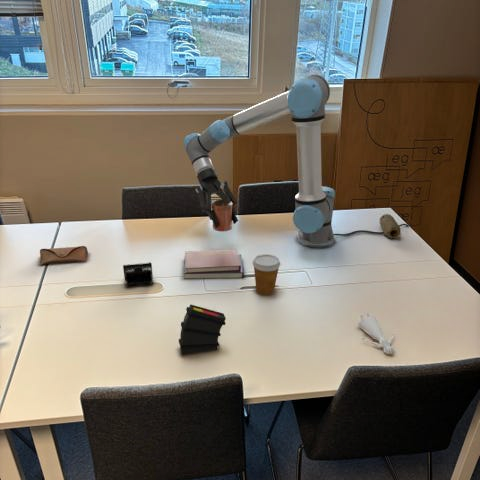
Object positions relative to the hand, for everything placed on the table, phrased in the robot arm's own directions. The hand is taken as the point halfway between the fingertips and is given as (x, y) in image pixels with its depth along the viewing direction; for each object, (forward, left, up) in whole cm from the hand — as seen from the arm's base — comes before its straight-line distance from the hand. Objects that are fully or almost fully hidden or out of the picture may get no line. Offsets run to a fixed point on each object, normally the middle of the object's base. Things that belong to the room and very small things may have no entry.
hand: (226, 224), depth 195 cm
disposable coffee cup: (-12, +30, -13) cm, 35 cm away
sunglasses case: (+64, +3, -13) cm, 65 cm away
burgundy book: (+6, +13, -10) cm, 18 cm away
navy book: (+6, +13, -13) cm, 19 cm away
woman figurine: (-43, +61, -13) cm, 76 cm away
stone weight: (-72, -19, -13) cm, 76 cm away
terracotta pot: (+2, -3, -3) cm, 4 cm away
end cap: (+33, +22, -13) cm, 42 cm away
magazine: (+10, +64, -13) cm, 66 cm away
